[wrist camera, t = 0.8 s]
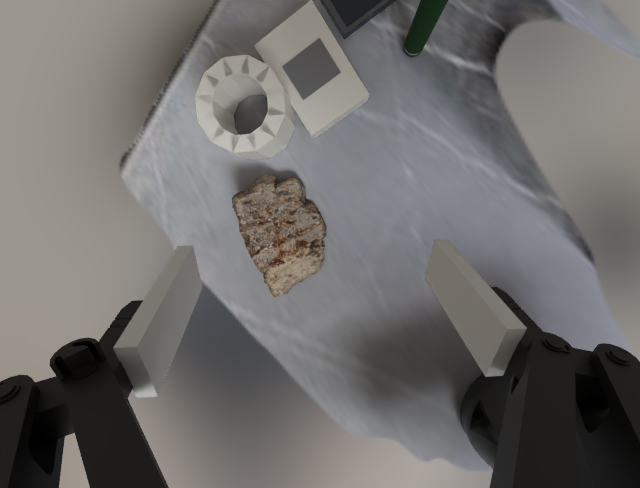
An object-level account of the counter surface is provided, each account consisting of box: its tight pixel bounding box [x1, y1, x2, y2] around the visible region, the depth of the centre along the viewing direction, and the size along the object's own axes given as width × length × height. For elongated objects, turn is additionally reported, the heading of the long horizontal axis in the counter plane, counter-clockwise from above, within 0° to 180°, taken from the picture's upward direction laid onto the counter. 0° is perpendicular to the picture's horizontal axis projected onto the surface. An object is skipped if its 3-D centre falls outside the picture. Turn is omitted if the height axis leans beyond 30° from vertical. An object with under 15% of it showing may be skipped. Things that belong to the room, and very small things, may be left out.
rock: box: [232, 174, 326, 297], centre depth 38 cm, size 15×10×6 cm
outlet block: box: [195, 0, 369, 160], centre depth 34 cm, size 12×17×6 cm
